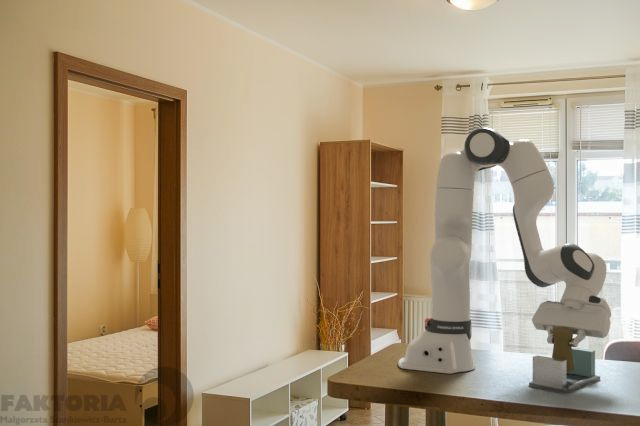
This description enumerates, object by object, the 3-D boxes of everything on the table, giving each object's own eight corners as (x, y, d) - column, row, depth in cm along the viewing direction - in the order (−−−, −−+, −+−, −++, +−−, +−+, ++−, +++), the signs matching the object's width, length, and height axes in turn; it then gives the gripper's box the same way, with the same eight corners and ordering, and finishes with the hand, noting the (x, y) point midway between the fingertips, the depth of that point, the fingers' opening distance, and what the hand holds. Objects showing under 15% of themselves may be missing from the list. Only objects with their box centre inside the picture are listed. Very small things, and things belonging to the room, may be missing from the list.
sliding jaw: (591, 377, 179) (591, 351, 179) (562, 372, 185) (562, 347, 185) (595, 375, 181) (595, 350, 181) (566, 370, 186) (566, 346, 186)
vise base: (565, 394, 166) (565, 362, 166) (529, 386, 173) (529, 356, 173) (600, 379, 181) (600, 350, 181) (565, 373, 188) (565, 345, 188)
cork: (550, 370, 174) (550, 328, 174) (550, 365, 180) (550, 325, 180) (574, 372, 172) (574, 330, 172) (574, 367, 177) (574, 326, 178)
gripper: (538, 293, 188) (521, 331, 181) (611, 300, 173) (595, 342, 167) (545, 307, 191) (529, 345, 184) (617, 315, 177) (602, 357, 170)
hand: (561, 344), depth 175 cm, fingers closed on cork, 5 cm apart
